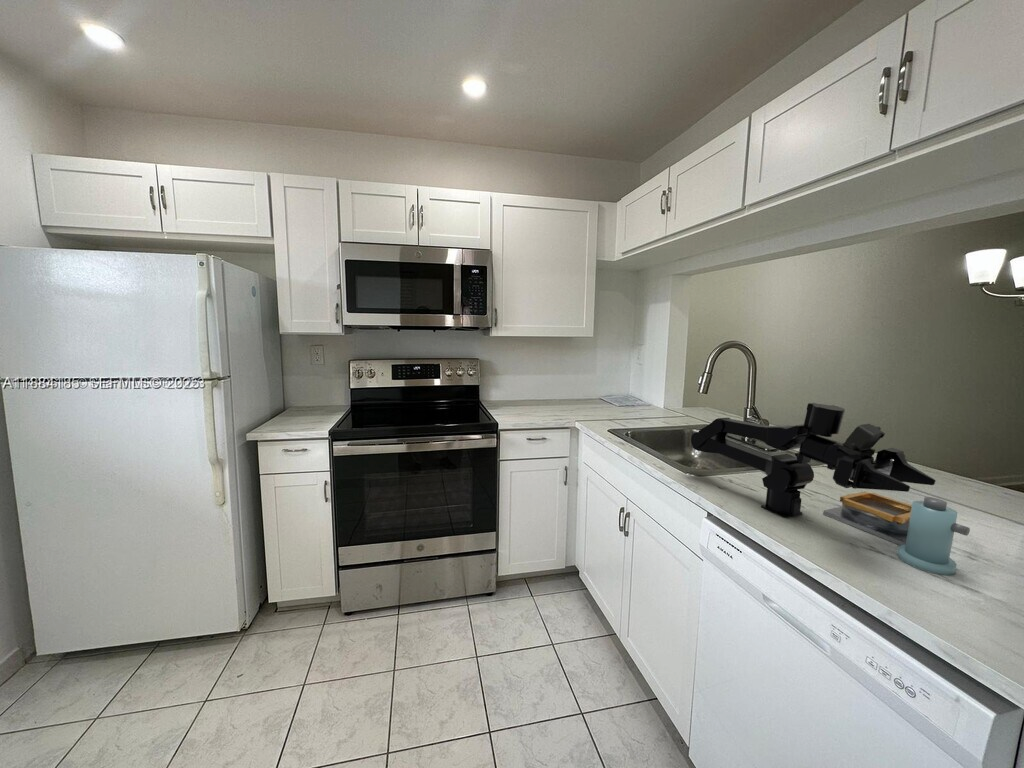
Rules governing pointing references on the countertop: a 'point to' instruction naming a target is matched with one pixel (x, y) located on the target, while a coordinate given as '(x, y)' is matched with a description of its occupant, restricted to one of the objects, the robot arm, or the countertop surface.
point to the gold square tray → (874, 515)
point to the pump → (931, 537)
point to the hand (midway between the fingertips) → (922, 485)
